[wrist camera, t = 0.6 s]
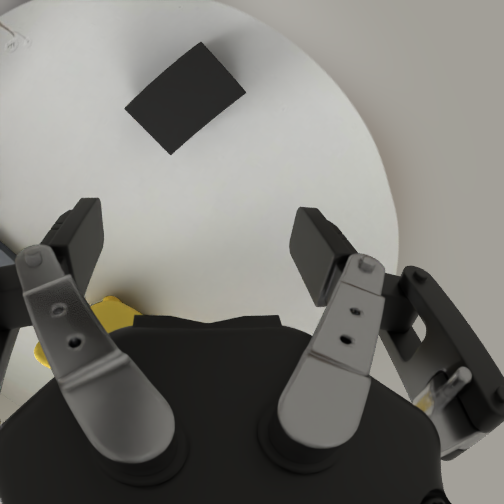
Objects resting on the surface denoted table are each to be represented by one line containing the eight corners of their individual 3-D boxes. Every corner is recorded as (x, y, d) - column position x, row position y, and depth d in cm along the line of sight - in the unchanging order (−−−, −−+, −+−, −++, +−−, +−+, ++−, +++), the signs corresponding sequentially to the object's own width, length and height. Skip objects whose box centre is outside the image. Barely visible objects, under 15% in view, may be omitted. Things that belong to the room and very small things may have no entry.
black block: (136, 103, 21) (124, 108, 18) (200, 47, 20) (201, 41, 16) (174, 142, 24) (170, 155, 20) (238, 90, 22) (246, 92, 19)
